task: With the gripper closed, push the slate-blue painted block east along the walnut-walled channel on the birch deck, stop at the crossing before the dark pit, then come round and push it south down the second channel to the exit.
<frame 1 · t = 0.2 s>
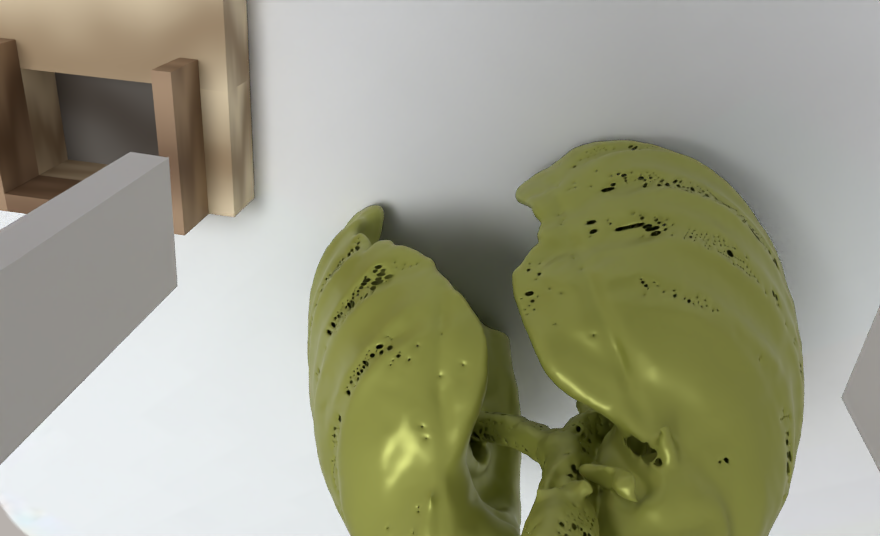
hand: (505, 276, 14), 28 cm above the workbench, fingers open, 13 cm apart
lungs: (535, 279, 45), on the workbench
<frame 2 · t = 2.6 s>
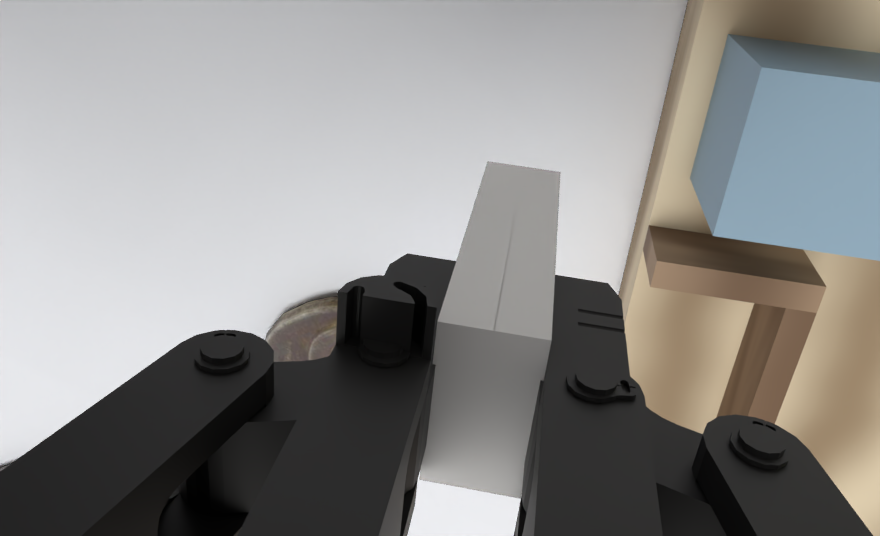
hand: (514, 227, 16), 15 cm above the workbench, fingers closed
block: (783, 119, 26), point 3 cm above the workbench, touching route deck
wrench: (119, 454, 43), on the workbench
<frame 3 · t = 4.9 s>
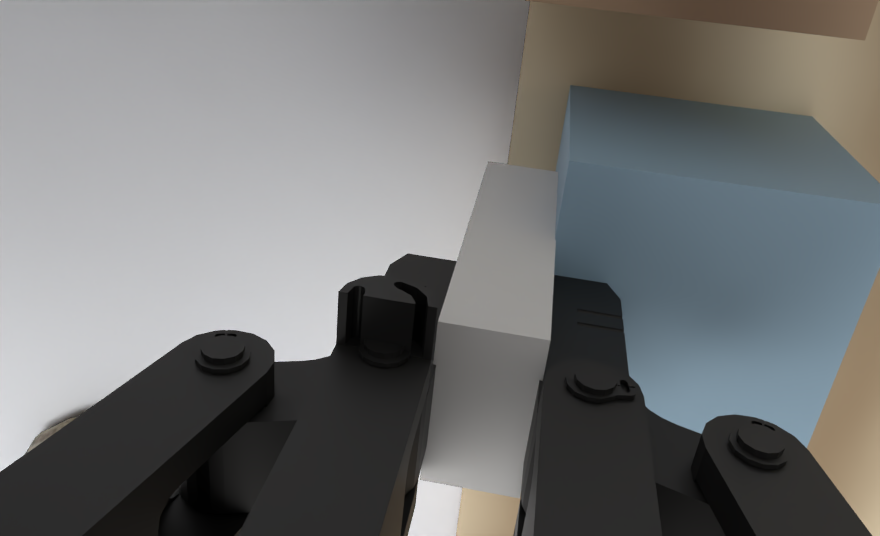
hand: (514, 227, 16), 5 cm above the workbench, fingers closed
block: (662, 209, 17), point 3 cm above the workbench, touching gripper
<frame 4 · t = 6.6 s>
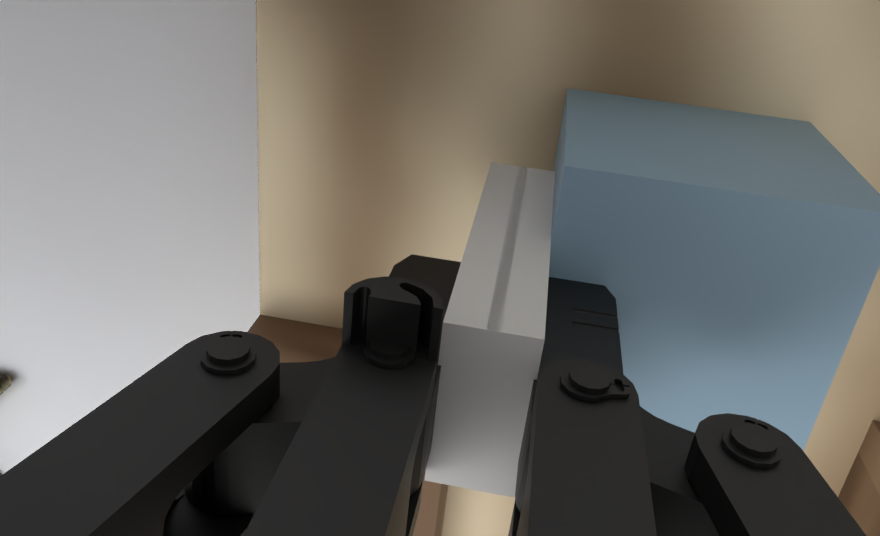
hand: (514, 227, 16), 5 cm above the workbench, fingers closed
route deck: (690, 389, 23), on the workbench
block: (659, 214, 17), point 3 cm above the workbench, touching gripper, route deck
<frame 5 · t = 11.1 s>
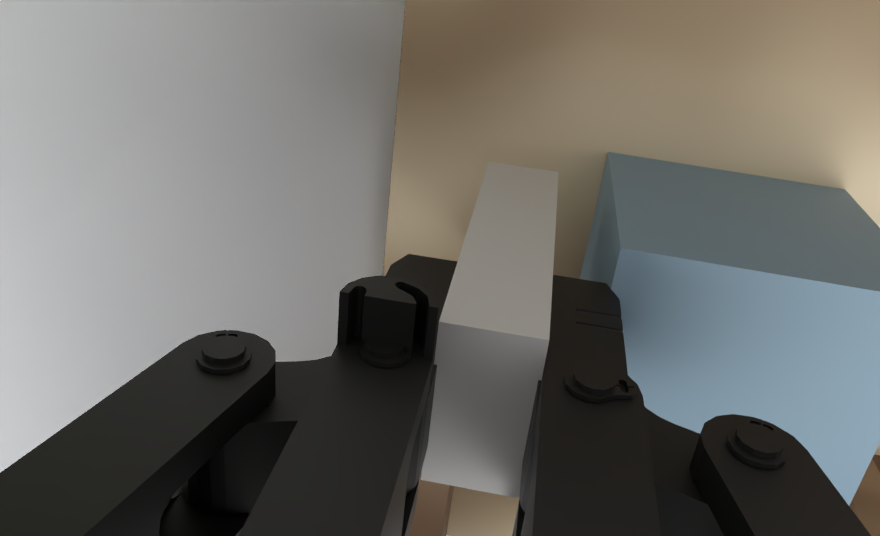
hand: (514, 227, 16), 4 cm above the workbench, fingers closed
block: (694, 273, 18), point 3 cm above the workbench, touching gripper, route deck
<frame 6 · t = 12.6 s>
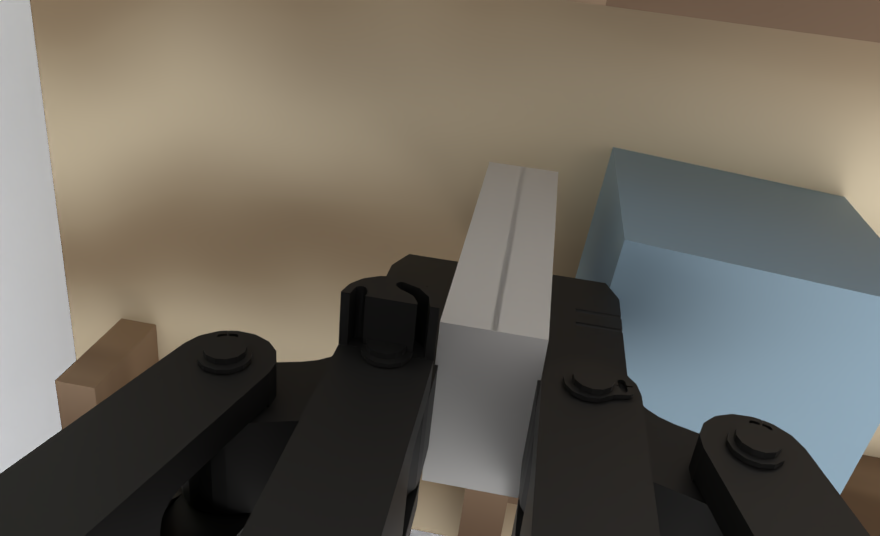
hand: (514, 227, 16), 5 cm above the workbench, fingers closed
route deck: (609, 122, 20), on the workbench
block: (690, 272, 18), point 3 cm above the workbench, touching gripper, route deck
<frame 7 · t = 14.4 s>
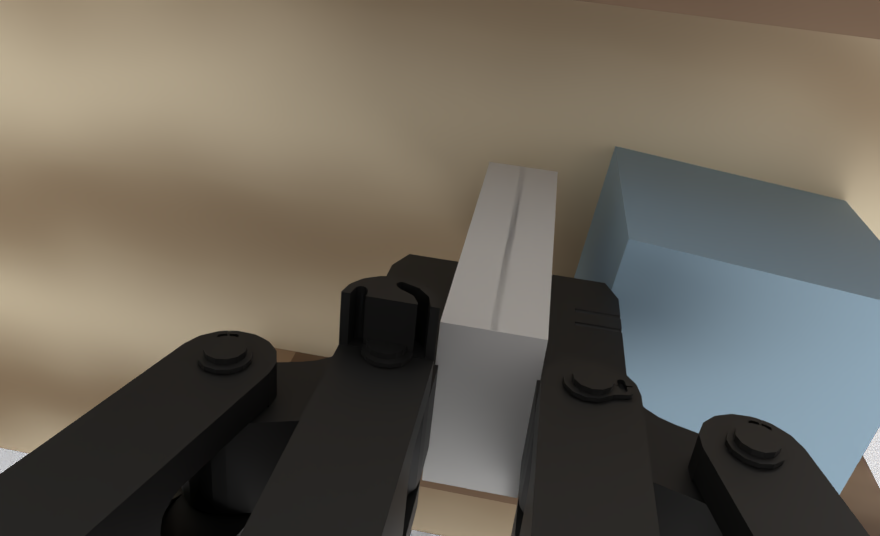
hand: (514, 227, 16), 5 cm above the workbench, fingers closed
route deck: (374, 88, 20), on the workbench
block: (689, 273, 18), point 3 cm above the workbench, touching gripper, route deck
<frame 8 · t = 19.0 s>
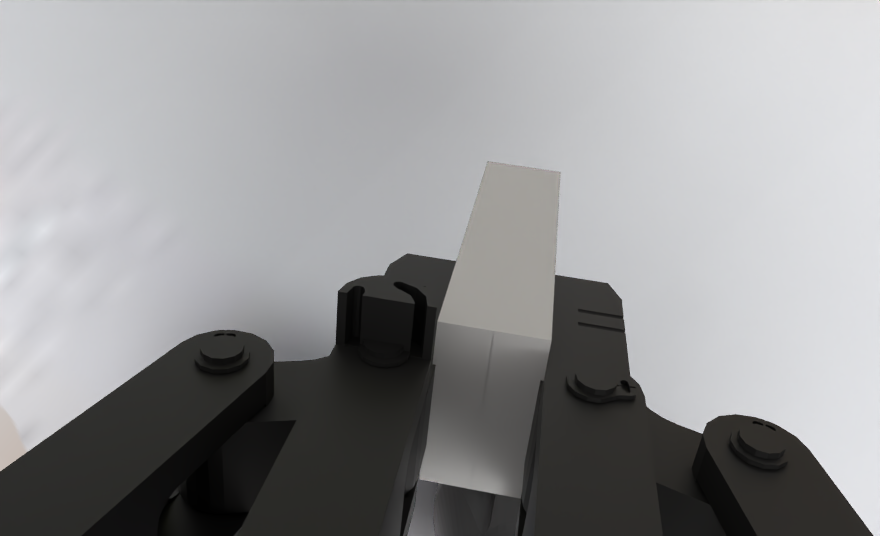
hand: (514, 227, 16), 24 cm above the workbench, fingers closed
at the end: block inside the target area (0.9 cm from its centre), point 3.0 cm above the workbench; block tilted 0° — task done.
